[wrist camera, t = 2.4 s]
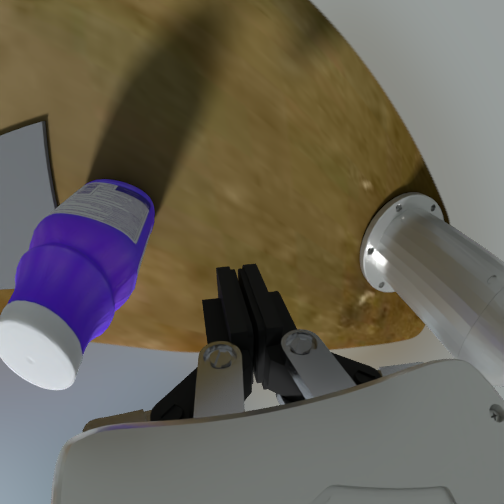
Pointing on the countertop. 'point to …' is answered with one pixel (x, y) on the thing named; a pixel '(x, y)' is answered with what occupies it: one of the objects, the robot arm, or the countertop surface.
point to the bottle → (74, 280)
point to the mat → (22, 194)
